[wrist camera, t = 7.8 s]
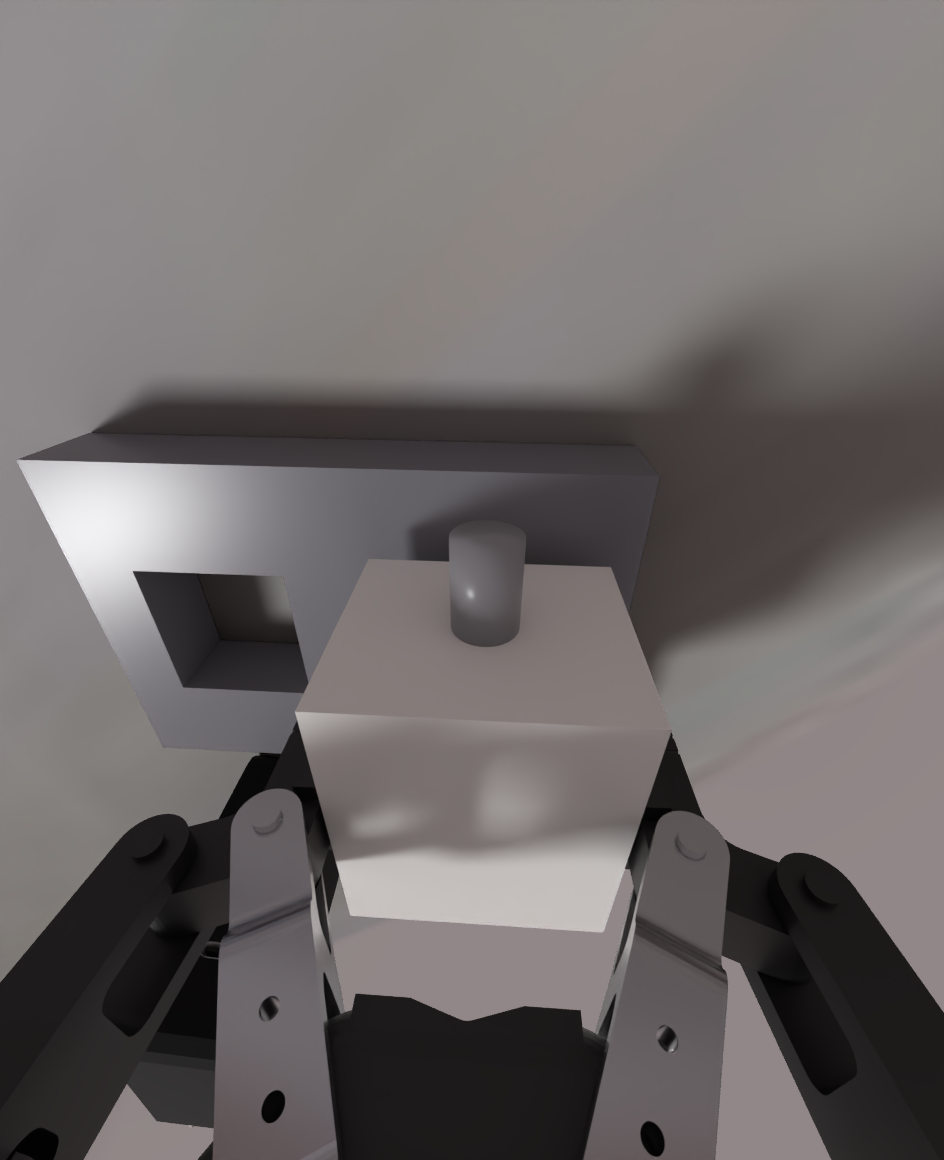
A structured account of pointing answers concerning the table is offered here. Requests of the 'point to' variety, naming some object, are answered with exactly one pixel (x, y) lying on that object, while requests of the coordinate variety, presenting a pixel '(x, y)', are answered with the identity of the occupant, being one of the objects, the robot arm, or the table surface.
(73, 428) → the table surface
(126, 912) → the robot arm
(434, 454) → the socket plate
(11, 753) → the table surface
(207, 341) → the table surface
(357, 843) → the plug
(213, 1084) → the electronic device
